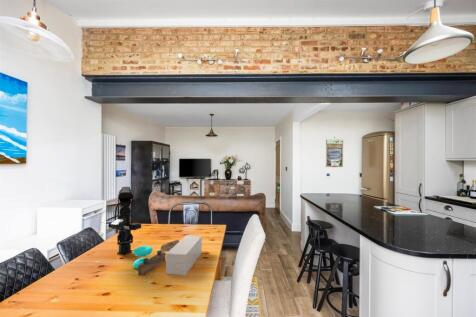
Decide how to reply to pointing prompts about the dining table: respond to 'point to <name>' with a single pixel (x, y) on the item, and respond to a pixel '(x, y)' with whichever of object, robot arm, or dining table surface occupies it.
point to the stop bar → (151, 263)
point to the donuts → (141, 254)
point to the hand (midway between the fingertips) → (124, 240)
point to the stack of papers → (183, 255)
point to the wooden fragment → (169, 246)
